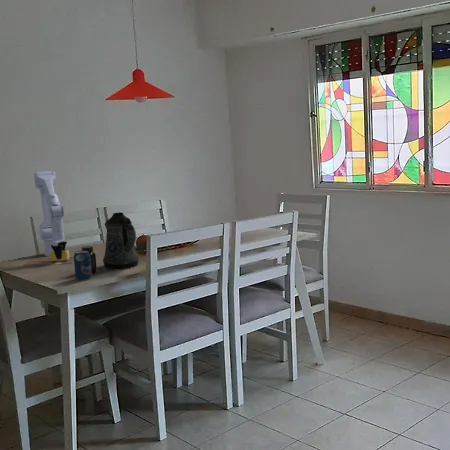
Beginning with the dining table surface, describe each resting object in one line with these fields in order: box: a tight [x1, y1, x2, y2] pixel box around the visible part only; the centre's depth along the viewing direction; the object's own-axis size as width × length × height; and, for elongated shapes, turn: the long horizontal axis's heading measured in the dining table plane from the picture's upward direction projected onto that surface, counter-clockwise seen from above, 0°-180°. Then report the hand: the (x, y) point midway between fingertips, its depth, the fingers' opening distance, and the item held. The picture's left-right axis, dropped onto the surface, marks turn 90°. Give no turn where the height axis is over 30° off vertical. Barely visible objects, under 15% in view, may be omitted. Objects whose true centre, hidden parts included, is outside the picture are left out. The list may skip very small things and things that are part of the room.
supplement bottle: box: [81, 245, 98, 275], centre depth 274 cm, size 7×7×12 cm
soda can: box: [73, 249, 93, 281], centre depth 263 cm, size 7×7×12 cm
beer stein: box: [102, 212, 140, 271], centre depth 283 cm, size 16×19×25 cm
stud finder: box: [49, 249, 70, 261], centre depth 298 cm, size 4×8×4 cm, turn 90°
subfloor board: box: [21, 256, 74, 267], centre depth 299 cm, size 16×24×1 cm, turn 90°
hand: (60, 257), depth 298 cm, fingers closed on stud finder, 4 cm apart
